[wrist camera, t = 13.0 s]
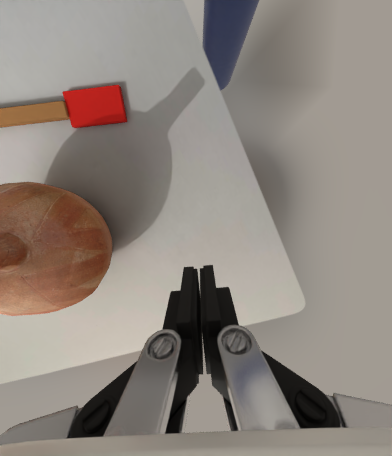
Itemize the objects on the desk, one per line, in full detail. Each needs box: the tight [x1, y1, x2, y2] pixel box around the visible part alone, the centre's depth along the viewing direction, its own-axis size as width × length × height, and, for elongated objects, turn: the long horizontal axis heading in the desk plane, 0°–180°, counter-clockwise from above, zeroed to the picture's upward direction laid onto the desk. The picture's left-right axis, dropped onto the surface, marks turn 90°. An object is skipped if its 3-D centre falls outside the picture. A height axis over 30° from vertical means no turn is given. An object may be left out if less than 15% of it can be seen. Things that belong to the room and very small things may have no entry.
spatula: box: [0, 85, 127, 128], centre depth 26 cm, size 4×22×1 cm, turn 96°
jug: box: [0, 182, 112, 316], centre depth 23 cm, size 18×18×20 cm
